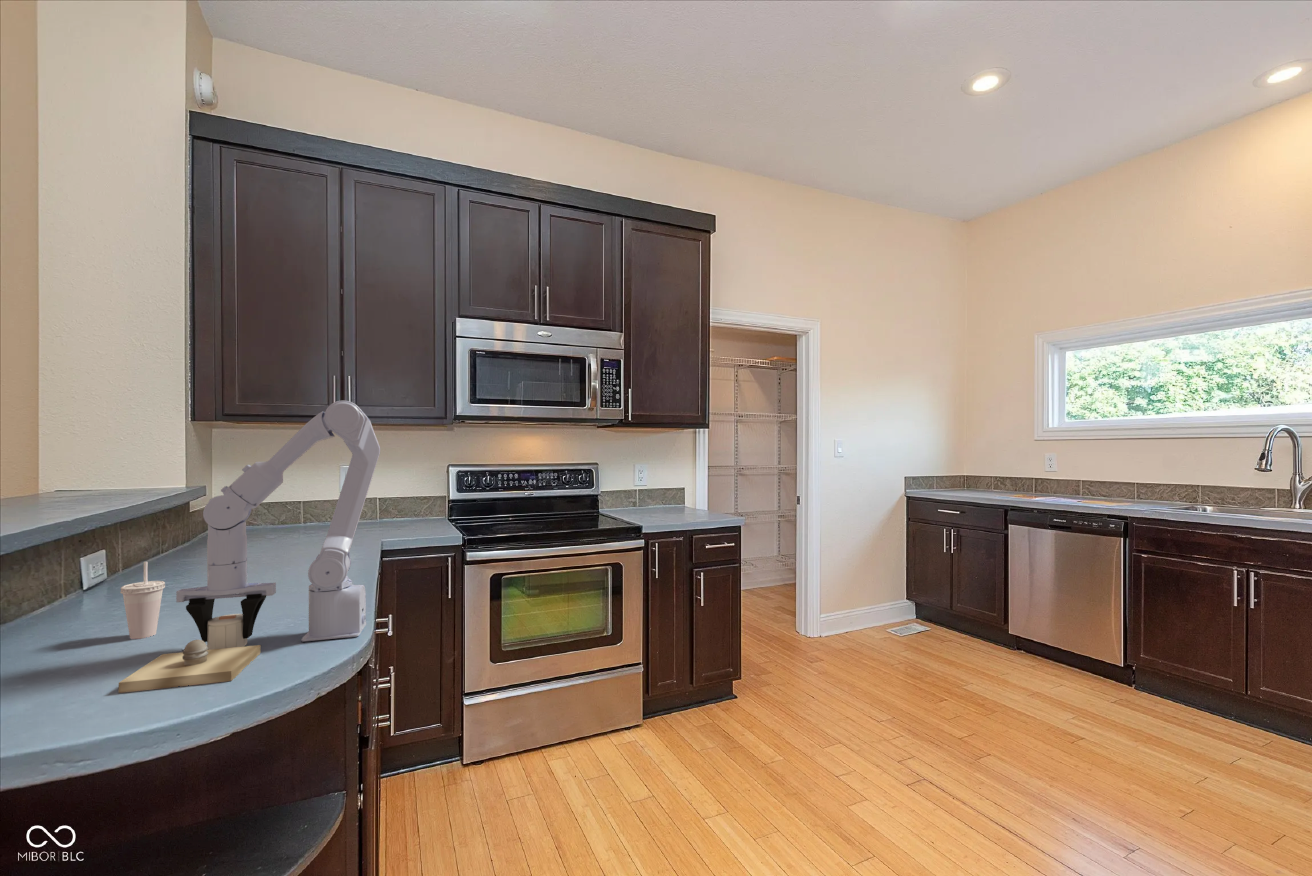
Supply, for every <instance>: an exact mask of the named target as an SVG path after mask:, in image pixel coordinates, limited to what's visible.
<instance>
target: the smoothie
mask: <svg viewBox="0 0 1312 876" xmlns="http://www.w3.org/2000/svg"><path fill="white" fill-rule="evenodd" d="M148 564H149V563H148V561H143V581H140V582H133V583H130V584H129V583H128V584H125V585H122V586H121V587H120V592H119V593H120V594H122V598H123V603H124V611H125V616H126V623H127V628H128V634H129V638H130V639H131V640H141V639H147V638H151V637H153V635H154V636H155V635H157V631H158V630H157V629H158V623H159V618H160V613H161V612H160V610H161V604H162V598H163V591H164V590H163V589H165V588H166V582H165V581H163V580H151V581H150V580H148ZM150 636H151V637H150ZM146 637H147V638H146Z"/></svg>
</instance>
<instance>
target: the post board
mask: <svg viewBox="0 0 1312 876" xmlns="http://www.w3.org/2000/svg"><path fill="white" fill-rule="evenodd" d="M261 651H262V650H261V644H258V645H245V646H243V647H233V648H223V649H212V650H208V646H207V642H204V641H202V639H193V640H190V641H189V642H188V643H187V644H186V645H185V647H184V650H182V651H181V652H173V653H172V652H170V653H162V654H161V655H159V656H158V657H156V658H154V659H153V660H151V661H150V662H148V663H147V664H145V665H143V666H142V667H140V668H139V669H138V670H136V671H134V672H133V673H131V674H130V675H129V676H127V677H125V678H124V679H122V680H121V681H119V682H118V694H122V693H132V692H133V693H134V692H139V691H140V692H141V691H143V692H144V691H150V690H159V689H169V688H171V689H172V688H178V686H180V687H187V686H188V685H189V686H196V685H207V684H215V683H217V684H218V683H224V682H226V683H227V682H232V681H233V680H234V679H235V678H236V677H238V676H239V675H240V674H241V673H242V672H243V671H244V670H245V669H246V668H247V667H248V666H249V665H251V663H252V662H253V661H255V660H256V659H257V658H258V657H259V656H260V655H261V654H260V653H261ZM258 655H259V656H258ZM257 656H258V657H257ZM251 661H252V662H251ZM250 662H251V663H250ZM247 665H248V666H247ZM246 666H247V667H246ZM245 667H246V668H245ZM244 668H245V669H244ZM243 669H244V670H243ZM242 670H243V671H242Z"/></svg>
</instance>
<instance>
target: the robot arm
mask: <svg viewBox="0 0 1312 876" xmlns="http://www.w3.org/2000/svg"><path fill="white" fill-rule="evenodd" d="M335 435H336V436H338V437H339V438H340V439H342V440H343V442H344V444H345V445H346V447H347V448H348V449H349V451H350V452H351V458H350V461H349V466H348V468H347V472H346V474H345V477H344V481H343V484H342V487H341V490H340V493H339V497H338V499H337V503H336V506H335V508H334V512H333V514H332V518H331V521H330V524H329V527H328V530H327V534H326V536H325V539H324V542H323V544H322V546H321V549H320V552H319V553H318V555H317V556H316V558H315V560H313V562H312V563H311V564H309V565H310V566H309V568H308V571H307V574H308V575H307V577H308V580H309V582H310V583H311V584H310V585H308V631H307V632H306V633H305V634H304V635H303V636H302V638H301V639H300V640H301V642H311V641H323V640H334V639H344V638H354V637H355V638H356V637H359V636H360V635H361V633H362V632H363V630H364V628H365V627H366V626H367V620H366V619H367V617H366V615H367V614H366V612H367V611H366V610H367V606H366V604H367V603H366V602H367V600H366V597H367V595H366V587H365V585H364V584H353V580H352V579H350V578H349V576H348V572H349V570H350V569H351V566H352V565H351V564H352V559H351V555H350V552H351V547H352V545H353V541H354V536H355V534H356V530H357V527H358V524H359V521H360V518H361V515H362V511H363V509H364V505H365V502H366V498H367V495H368V492H369V490H370V486H371V483H372V479H373V477H374V473H375V471H376V467H377V465H378V461H379V457H380V454H381V446H380V443H379V440H378V438H377V435H376V434H375V430H374V427H373V425H372V421H371V419H370V418H369V417H368V416H367V414H366V413H365V412H364V411H363V410H362V409H361V408H360V407H359V406H358V405H357V404H356V403H354V402H352V401H349V400H337V401H335V402H333V403H330V404H329V405H328V407H327V408H326V410H325V411H321V412H319V413H317V415H315V416H313V418H311V419H310V420H309V421H308V422H306V423H304V425H303V426H302V427H301V428H300V429H299V430H298V431H297V432H296V433H295V434H294V435H293V436H292V437H291V438H290V439H289V440H288V441H287V442H286V443H285V444H284V445H283V446H281V448H280V449H279V450H278V451H277V452H275V453H274V455H273V456H272V457H271V458H270V459H269V460H267V461H255V462H254V463H253V464H252V465H251V464H246V465H245V466H244V467H243V468H242V469H241V471H242V472H243V473H242V474H241V475H240V476H238V478H236V479H235V480H234V481H233V482H232V483H231V484H230V485H229V486H227V485H225V486H223V487H221V489H220V492H222V495H217V496H214V497H212V498H210V499H209V501H208V502H207V504H205V507H204V508H203V512H202V517H203V520H204V522H205V523H206V524H207V539H206V540H207V541H206V542H207V544H206V548H207V549H206V550H207V551H206V552H207V553H206V554H207V555H206V557H207V558H206V559H207V560H206V562H207V565H206V566H207V567H206V568H207V571H206V572H207V575H206V576H207V578H206V579H207V580H206V581H207V585H206V586H198V587H190V588H189V587H188V588H181V589H179V590H176V594H175V595H176V601H175V602H176V603H184V602H188V604H187V605H185V609H186V610H185V611H186V612H187V613H188V614H189V615H190V616H191V618H192V619H193V621H194V622H195V624H196V626H197V630H198V632H199V634H200V638H201V639H200V640H202V641H204V642H205V643H207V624H208V620H210V619H212V618H213V612H214V606H215V605H214V604H215V600H217V599H231V598H232V599H233V598H243V599H242V600H241V601H240V607H241V611H242V613H241V614H243V639H245V638H247V639H249V638H250V637H252V636H253V631H254V627H255V622H256V620H257V616H258V614H259V612H260V611H261V607H263V606H262V605H263V604H264V602H265V601H266V598H267V597H271V596H273V595H275V594H276V593H277V583H276V582H248V535H247V520H248V519H249V517H250V515H251V513H252V509H257V507H259V506H260V504H262V503H263V502H264V501H265V500H266V499H267V498H269V496H270V495H271V494H272V493H273V492H275V491H276V490H277V489H278V488H279V487H280V486H281V485H282V484H283V483H284V472H285V471H286V470H288V468H289V467H291V466H292V465H293V464H294V463H296V461H298V459H300V458H301V457H302V456H303V455H305V453H307V451H309V450H310V449H311V448H312V447H313V446H314V445H316V444H317V443H318V442H321V441H325V440H328V439H333V438H335V437H336V436H335ZM245 597H246V598H245Z"/></svg>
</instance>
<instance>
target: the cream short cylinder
mask: <svg viewBox="0 0 1312 876" xmlns="http://www.w3.org/2000/svg"><path fill="white" fill-rule="evenodd" d="M206 645H207V646H208V650H212V649H223V648H233V647H244V646H247V645H248V638H245V639H243V613H231V614H223V615H219V616H215V617H212V619H210V620H208V624H207V642H206Z"/></svg>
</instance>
